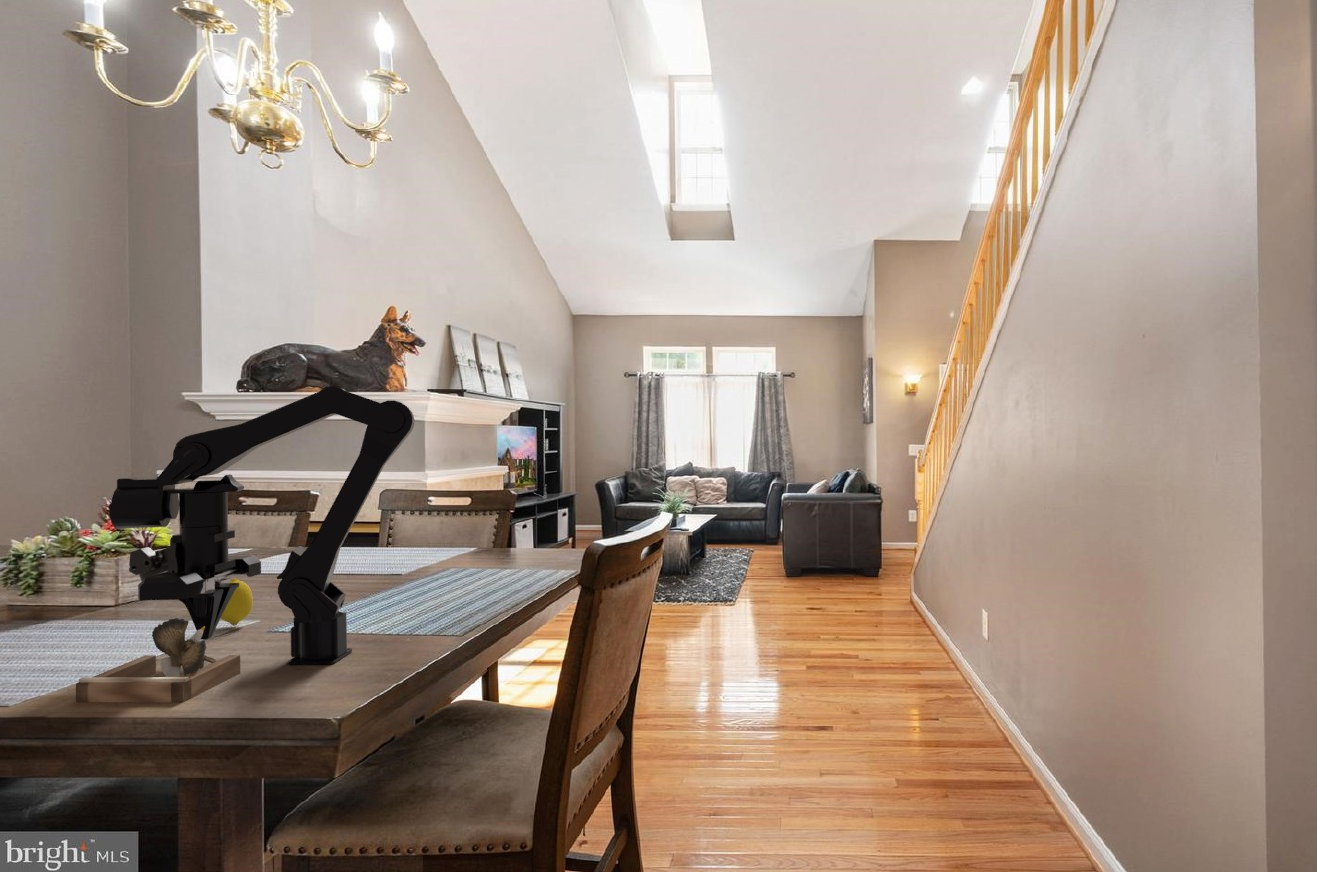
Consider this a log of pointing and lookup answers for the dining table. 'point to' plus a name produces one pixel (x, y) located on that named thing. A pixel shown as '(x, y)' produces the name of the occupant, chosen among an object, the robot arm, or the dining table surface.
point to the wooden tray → (153, 682)
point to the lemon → (238, 604)
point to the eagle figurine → (180, 648)
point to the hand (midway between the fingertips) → (205, 638)
